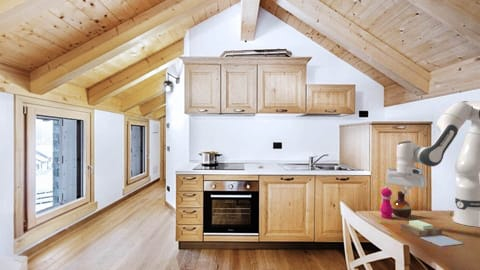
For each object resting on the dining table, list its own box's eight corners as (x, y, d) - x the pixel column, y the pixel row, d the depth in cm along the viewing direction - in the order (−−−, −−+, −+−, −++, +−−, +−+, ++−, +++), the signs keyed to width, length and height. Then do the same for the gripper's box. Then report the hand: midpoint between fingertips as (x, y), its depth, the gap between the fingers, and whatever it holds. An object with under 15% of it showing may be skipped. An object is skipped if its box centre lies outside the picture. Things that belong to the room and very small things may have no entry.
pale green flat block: (418, 223, 151) (418, 220, 151) (432, 228, 142) (432, 225, 142) (409, 224, 150) (408, 220, 150) (423, 229, 141) (423, 226, 141)
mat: (441, 235, 141) (441, 234, 141) (463, 244, 129) (463, 243, 129) (420, 237, 138) (420, 237, 138) (441, 246, 127) (441, 245, 127)
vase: (403, 219, 169) (403, 194, 169) (387, 214, 179) (387, 191, 179) (415, 217, 173) (415, 192, 173) (399, 212, 183) (399, 189, 183)
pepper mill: (386, 219, 168) (386, 187, 168) (377, 216, 175) (377, 185, 175) (395, 218, 170) (395, 186, 170) (386, 215, 177) (386, 184, 177)
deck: (421, 227, 153) (421, 222, 153) (441, 235, 141) (441, 229, 141) (400, 229, 150) (400, 224, 150) (419, 237, 138) (419, 231, 138)
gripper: (384, 168, 161) (384, 191, 160) (424, 171, 146) (425, 197, 146) (387, 167, 165) (387, 190, 165) (427, 170, 150) (428, 195, 150)
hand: (405, 193), depth 155 cm, fingers closed
